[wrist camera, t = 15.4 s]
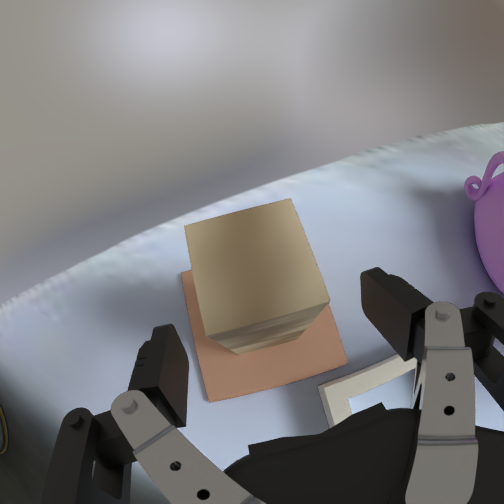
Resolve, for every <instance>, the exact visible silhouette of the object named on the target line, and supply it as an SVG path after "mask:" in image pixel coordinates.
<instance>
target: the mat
mask: <svg viewBox="0 0 504 504" xmlns="http://www.w3.org/2000/svg"><path fill="white" fill-rule="evenodd" d="M181 276H182V282H183V288H184V293H185V298H186V304H187V309H188V314H189V319H190V324H191V328H192V333H193V338H194V342H195V347H196V351H197V355H198V360H199V364H200V368H201V372H202V376H203V380H204V384H205V388H206V392H207V395H208V399H209V403H210V402H215V401H220V400H225V399H230V398H234V397H239V396H243V395H248V394H252V393H256V392H260V391H264V390H267V389H271V388H275V387H278V386H282V385H285V384H289V383H292V382H296V381H299V380H302V379H305V378H308V377H311V376H315V375H318V374H320V373H323V372H326V371H329V370H332V369H335V368H338V367H340V366H343V365H346V364H348V361H347V358H346V355H345V351H344V348H343V345H342V342H341V339H340V336H339V333H338V330H337V327H336V324H335V321H334V318H333V315H332V312H331V309H330V306H329V303H328V304H327V305H326V307H325V308H324V309H323V310H322V311H321V313H320V314H319V315H318V316H317V317H316V319H315V320H314V321H313V322H312V323H311V324H310V326H309V327H308V328H307V329H306V330H305V331H304V332H303V334H302V335H301V336H300V337H299V338H298V339H296V340H293V341H290V342H286V343H283V344H280V345H276V346H273V347H269V348H265V349H262V350H258V351H254V352H251V353H247V354H243V355H238V354H236V353H235V352H233V351H231V350H229V349H228V348H226V347H224V346H222V345H221V344H219V343H217V342H216V341H214V340H212V339H210V338H209V337H207V336H206V334H205V329H204V325H203V321H202V316H201V312H200V307H199V302H198V298H197V293H196V288H195V283H194V278H193V273H192V270H189V271H185V272H182V273H181Z"/></svg>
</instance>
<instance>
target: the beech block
mask: <svg viewBox="0 0 504 504" xmlns="http://www.w3.org/2000/svg"><path fill="white" fill-rule="evenodd" d="M184 229H185V235H186V240H187V246H188V252H189V257H190V262H191V268H192V273H193V278H194V283H195V288H196V293H197V298H198V302H199V307H200V312H201V316H202V321H203V325H204V329H205V334H206V336H207V337H209V338H210V339H212V340H214V341H216V342H217V343H219V344H221V345H222V346H224V347H226V348H228V349H229V350H231V351H233V352H235V353H236V354H238V355H243V354H247V353H251V352H254V351H258V350H262V349H265V348H269V347H273V346H276V345H280V344H283V343H286V342H290V341H293V340H296V339H298V338H299V337H300V336H301V335H302V334H303V332H304V331H305V330H306V329H307V328H308V327H309V326H310V324H311V323H312V322H313V321H314V320H315V319H316V317H317V316H318V315H319V314H320V313H321V311H322V310H323V309H324V308H325V307H326V305H327V304H328V303H329V302H330V299H329V296H328V293H327V290H326V287H325V285H324V282H323V279H322V277H321V274H320V271H319V268H318V266H317V263H316V260H315V258H314V255H313V253H312V250H311V247H310V245H309V242H308V240H307V237H306V235H305V232H304V230H303V227H302V225H301V222H300V220H299V217H298V215H297V212H296V210H295V207H294V205H293V203H292V200H291V198H289V199H285V200H281V201H277V202H273V203H269V204H265V205H261V206H257V207H253V208H249V209H245V210H241V211H237V212H233V213H230V214H226V215H222V216H218V217H215V218H211V219H207V220H204V221H200V222H196V223H193V224H189V225H186V226H184Z"/></svg>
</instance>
